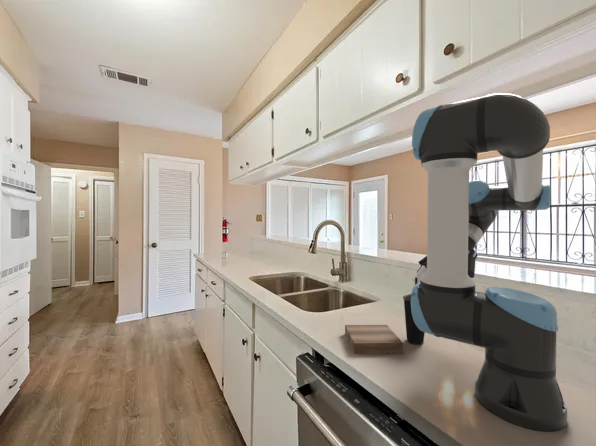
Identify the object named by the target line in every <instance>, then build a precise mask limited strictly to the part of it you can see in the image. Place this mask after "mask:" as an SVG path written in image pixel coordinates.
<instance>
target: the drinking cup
mask: <svg viewBox="0 0 596 446" xmlns="http://www.w3.org/2000/svg"><path fill="white" fill-rule="evenodd" d="M415 284H417V278H415V282H414V285H415ZM411 297H412V293H409V294H406V295H403V296H402V300H403V307H404V318H405V319H404V321H405V332H406V341H407V342H408V343H409V344H412V345H415V346H416V345H423V344H424V343H425V342H424V341H425V332H423V331H421V330H420V329H419V328H418V327H417V326H416V324H415V322H414V320H413V317H412V311H411Z"/></svg>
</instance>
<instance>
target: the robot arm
mask: <svg viewBox="0 0 596 446" xmlns="http://www.w3.org/2000/svg"><path fill="white" fill-rule="evenodd" d="M550 137H551V126H550V123H549V119H548V117H547V116H546V115H545V113H544V112H543V111H542V109H540V108H539V107H538V106H537V105H536V104H535V103H533V102H532V101H530V100H529V99H527V98H524V97H522V96H520V95H517V94H512V93H503V92H502V93H501V92H500V93H492V94H487V95H484V96H480V97H474V98H471V99H465V100H459V101H455V102H451V103H446V104H439V105H437V106H435V107H432V108H428V109H425V110H424V111H422V112H420V114H418V117H417V118H416V120H415V123H414V125H413V130H412V136H411V147H412V154H413V157H414V158H415V159H416V160H417V161H418V160H419V161H420V167H422V169H423V170H424V171H426V172H427V218H426V219H427V230H426V231H427V232H426V233H427V235H426V236H427V237H426V239H427V241H426V252H427V253H426V255H425V256H424V257H423V258H421V259H420V260H419V261H418V262H417V263H418V265H420V267H419V268H418V270H417V271H416V274H415V275H414V277H412V281H413V282H414V285H413V287H412V290H411V294H412V297H411V311H412V317H413V320H414V322H415V324H416V326H417V327H418V328H419V329H420V330H421V331H423V332H425V333H426V334H428V335H433V336H434V337H436V338H442V339H447V340H452V341H456V342H458V343H459V342H460V343H464V344H468V345H471V346H476V347H481V348H484V351H485V352H484V355H485V356H484V362H483V364H482V366H481V369H480V371H479V373H478V377H477V378H476V380H475V381H474V395H475V397H476V400H477V401H478V402H479V403H480V405H482V406H483V407H484V408H485V409H486V410H488V411H489V412H491V413H492V414H494V415H496V416H497V417H499V418H501V419H503V420H505V421H508V423H509V422H510V423H512V424H515V425H517V426H521V427H523V428H528V429H532V430H536V431H544V432H553V431H559V429H560V430H562V429H564V428H565V427H566V426H567V424H568V408H567V405H566V403H565V402H564V398H563V395H562V392H561V388H560V386H559V382H558V380H557V332H558V331H559V326H558V317H557V316H558V315H557V313H558V312H557V309H556V307H555V306H554V304H552V303H551V302H550V301H549V300H547V299H545V298H544V297H541V296H538V295H535V294H532V293H529V292H526V291H523V290H518V289H514V288H510V287H509V288H508V287H500V286H489V287H487V288H486V290H485V292H480V291H476V282H475V280H473V279H474V278H475V271H476V259H477V258H478V253H477V251H475V248H476V246H477V244H478V243H479V242H480V241H481V239H482V237H484V234H485V233H486V232H487V230H488V229H489V228H490V226H491V225H492V224H493V223H494V222H495V220H496V218H497V216H498V215H499V211H534V212H535V211H545V210H548V209H549V208H550V206H551V186H550V185H549V184H546V183H545V184H544V183H543V170H544V169H543V168H544V166H543V164H544V161H543V160H544V149H545V148H546V147H547V145H548V144H549V141H550ZM489 152H497V153H498V154H499V155H500V156H502V160H503V166H504V172H505V177H506V178H505V180H506V184H507V185H505V186H500V185H499V186H489V184H488V183H487V182H486V181H485V180H484V181H483V180H480V179H479V180H478V179H477V180H476V179H475V180H472V181H470V170H471V168H472V167H474V166H475V165H476V164H477V163H478V154H481V153H489ZM415 278H417V284H415Z"/></svg>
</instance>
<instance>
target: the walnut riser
mask: <svg viewBox="0 0 596 446" xmlns="http://www.w3.org/2000/svg"><path fill="white" fill-rule="evenodd" d="M344 336H345V337H346V339H347V341H348V343H349V346H350V348H351V349H352V352H353V354H357V355H359V354H365V355H366V354H368V355H370V354H373V355H374V354H378V355H379V354H404V342H403V341H402V339H400V338H399V336H398V335H396V333H395V332H394V331H393V330H392V329H391V327H390V326H388V325H387V324H344Z"/></svg>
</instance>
